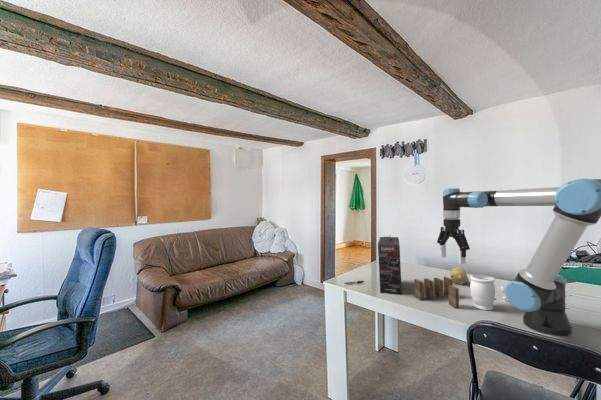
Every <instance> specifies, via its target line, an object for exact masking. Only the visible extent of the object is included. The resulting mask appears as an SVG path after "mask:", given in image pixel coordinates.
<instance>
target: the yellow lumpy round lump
mask: <svg viewBox="0 0 601 400" xmlns="http://www.w3.org/2000/svg"><path fill="white" fill-rule="evenodd" d="M449 274H450V278H451V279H453V284H454V283H456V284H457V285H458V284H459V285H461V286H462V285H464V284H467V283H469V281H470V280H469V278H468V275H467V272H466V270H465V268H464V267H462V266H455V267H453V268H452V269H451V270H450V273H449Z"/></svg>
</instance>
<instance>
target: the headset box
mask: <svg viewBox="0 0 601 400" xmlns="http://www.w3.org/2000/svg"><path fill="white" fill-rule="evenodd" d="M377 250H378V253H377V255H378V273H379V292H380V294H390V295H391V294H392V295H402V274H401V271H402V269H401V268H402V267H401V266H402V265H401V248H400V239H399V236H398V237H397V236H380V237H379V240H378V242H377Z"/></svg>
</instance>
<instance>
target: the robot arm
mask: <svg viewBox="0 0 601 400" xmlns="http://www.w3.org/2000/svg"><path fill="white" fill-rule="evenodd" d="M442 205H443V206H442V207H443V208H442V209H443V210H442V214H443V215H442V217H443V221H442V222H443V225H442V226H440V231H439V235H438V238H437V240H436V243H437V244H439V249H440V259H441V258H447V245H446V243H447V242H448V240H449V239H450V238H452V239H454V240H455V243H456V244H457V246H458V248H459V251H458V252H459V254H458V256H459V257H458V258H459V260H458V261H459V265H466V261H467V260H466V257H467V251H469V250H470V245H469V243H468V240H467V238H466V234H465V230H464V229H460V227H461V219H460V218H461V208H472V209H473V208H474V209H480V208H481V209H482V208H486V207H487V208H488V207H553V208H552V213H553V214H554V215H555V216H554V217H553V219H552V221H551V223H550V226H549V227H548V229H547V231H546V232H545V234H544V236H543V238H542V240H541V241H540V244H539V245H538V247H537V248H536V251H535V252H534V254H533V255H532V257H531V259H530V261H529V263H528V265H527V267H526V268H523V269H520V270H519V271H518V273H517V274H516V276H515V278H514V279H513V280H512V281H510V282H508V283H507V284H506V285H505V287H504V296H505V297H507V299H506V300H507V302H508V303H510V304H511V305H512V306H513V307H514V308H515V309H517V310H519V311H522V312H524V314H523V317H522V318H523V319H522V320H523V321H522V322H523V324H524V325H525V326H526V327H528V328H530V329H532V330H534V331H537V332H539V333H542V334H546V335H551V336H557V337H566V336H571V335H572V334H573V327H572V325H571V323H570V320H569V317H568V315H567V313H566V312H567V311H566V285H567V284H566V281H565V277H564V276H562V275H560V274H559V273H560V272H561V270H562V268H563V266H564V265H565V264H566V262H567V261H568V258H569V257H570V255H571V253H572V252H573V250H574V249H575V246H577V244H578V242H579V240H580V239H581V238H582V236H583V234H584V232H585V231H586V229H587V228H588V227H589V226H593V225H596V224H597V223H598V222H599V220H600V219H601V178H578V179H574V180H570V181H567V182H566V183H564V184H562V185H561V186H558V187H557V186H555V187H540V188H539V187H537V188H523V189H522V188H521V189H506V190H505V189H502V190H501V189H500V190H487V191H481V190H479V191H478V190H477V191H474V190H473V191H461V190H460V188H459V187H456V188H455V187H454V188H453V187H451V188H450V187H449V188H444V189H443V190H442Z"/></svg>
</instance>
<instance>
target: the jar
mask: <svg viewBox="0 0 601 400" xmlns="http://www.w3.org/2000/svg"><path fill="white" fill-rule="evenodd" d="M469 278H470V287H469V288H470V289H469V290H470V294H471V299H472V301H473V303H472V306H473V307H474V308H475V309H479V310H481V311H491V310H493V309H494V306H493V304H494V302H495V296H496V286H495V283H494V282H495V281H496V278H495V277H493V276H491V275H490V276H489V275H485V274H472V275H470V276H469Z"/></svg>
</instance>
